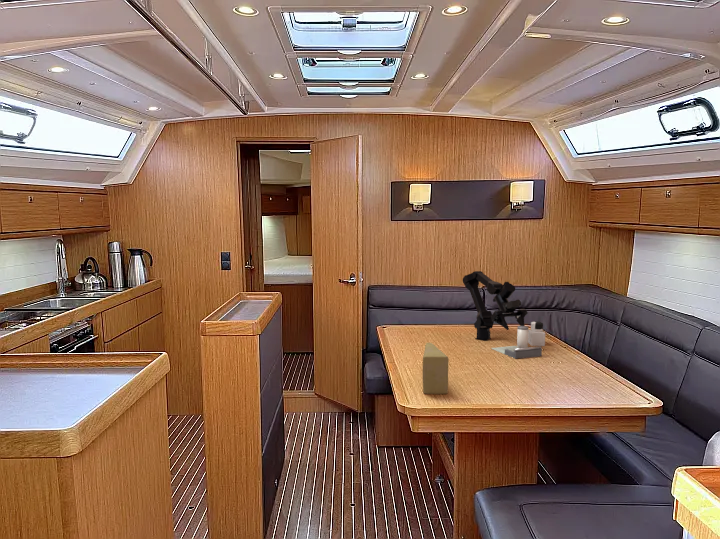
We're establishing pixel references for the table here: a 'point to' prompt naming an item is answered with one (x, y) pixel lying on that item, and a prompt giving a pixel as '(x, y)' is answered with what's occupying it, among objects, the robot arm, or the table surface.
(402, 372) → the table surface
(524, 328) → the grey capped tube
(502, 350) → the sage mat
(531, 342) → the medicine bottle
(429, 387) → the cheese
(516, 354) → the dispenser rack
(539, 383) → the table surface
